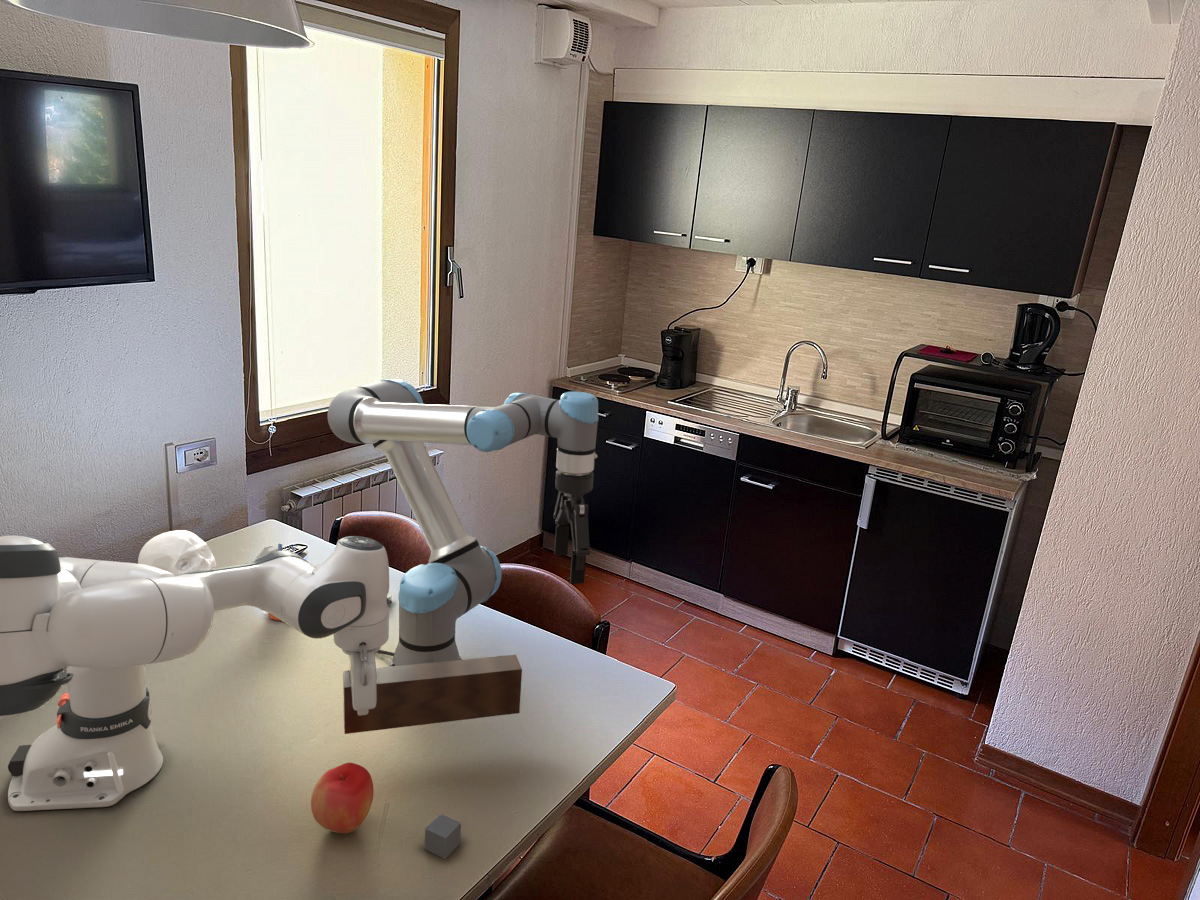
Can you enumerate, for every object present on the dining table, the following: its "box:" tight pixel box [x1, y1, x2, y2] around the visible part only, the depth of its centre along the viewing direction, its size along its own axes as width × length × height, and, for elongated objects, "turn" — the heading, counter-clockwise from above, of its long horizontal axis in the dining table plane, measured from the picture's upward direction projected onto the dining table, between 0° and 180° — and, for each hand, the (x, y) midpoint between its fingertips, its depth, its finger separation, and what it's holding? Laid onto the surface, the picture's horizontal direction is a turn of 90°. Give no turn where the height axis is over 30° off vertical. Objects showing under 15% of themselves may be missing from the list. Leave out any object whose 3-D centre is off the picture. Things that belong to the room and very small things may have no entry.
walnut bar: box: [342, 654, 523, 735], centre depth 149 cm, size 30×5×9 cm, turn 108°
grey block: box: [424, 813, 462, 860], centre depth 136 cm, size 4×4×4 cm
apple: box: [310, 762, 375, 834], centre depth 137 cm, size 10×10×10 cm
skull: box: [137, 529, 217, 576], centre depth 205 cm, size 13×22×16 cm, turn 73°
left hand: (361, 701), depth 145 cm, fingers closed on walnut bar, 5 cm apart
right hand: (568, 568), depth 175 cm, fingers open, 13 cm apart
